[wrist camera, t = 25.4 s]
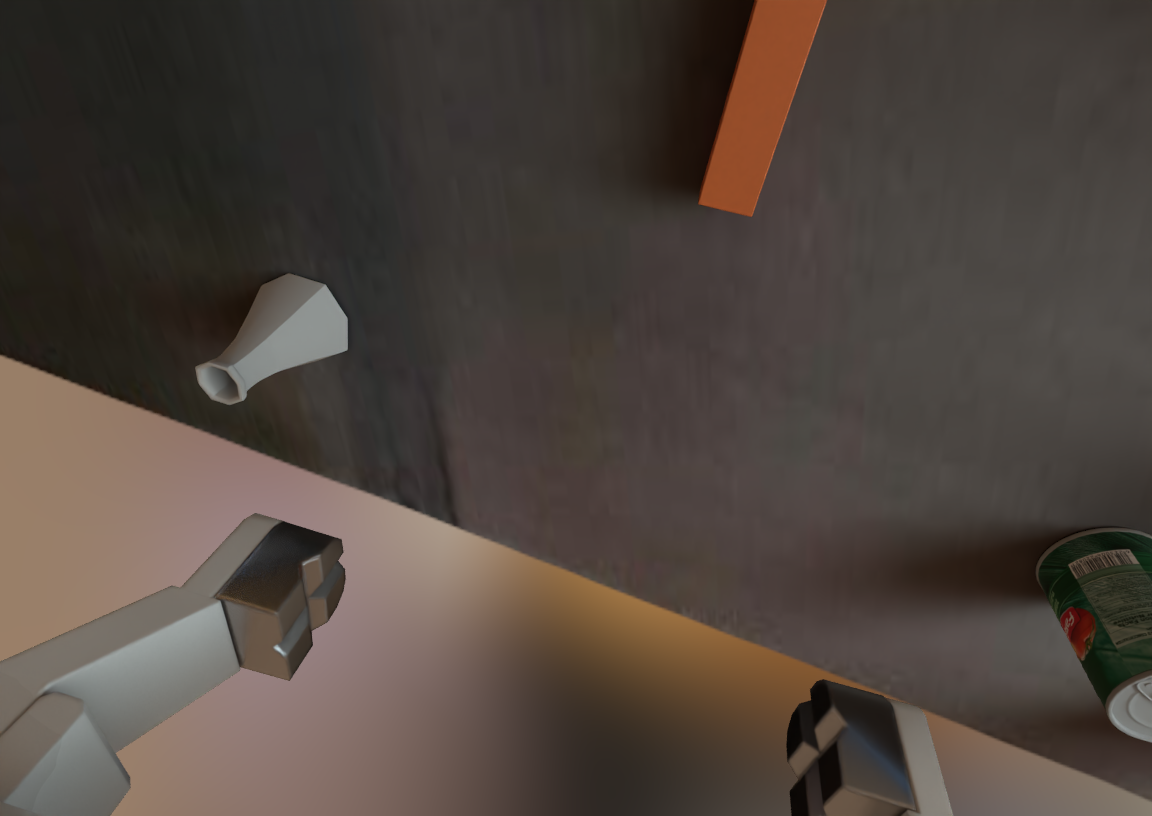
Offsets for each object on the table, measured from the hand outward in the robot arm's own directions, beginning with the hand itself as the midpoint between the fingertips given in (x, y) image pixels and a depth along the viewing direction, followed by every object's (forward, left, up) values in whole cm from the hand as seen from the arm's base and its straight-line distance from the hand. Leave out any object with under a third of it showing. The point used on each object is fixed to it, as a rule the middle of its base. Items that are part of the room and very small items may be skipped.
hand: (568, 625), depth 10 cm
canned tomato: (+41, -6, -31) cm, 52 cm away
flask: (-18, -24, -31) cm, 43 cm away
